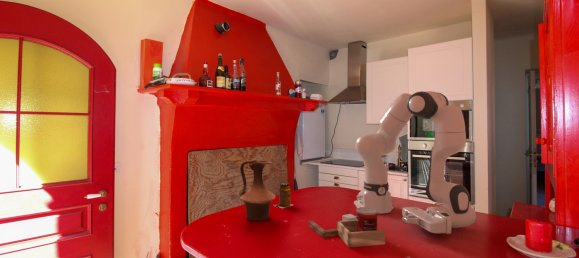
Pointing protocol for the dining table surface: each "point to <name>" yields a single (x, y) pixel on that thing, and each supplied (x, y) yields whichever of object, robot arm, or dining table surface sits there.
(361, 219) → the canned food
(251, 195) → the pitcher
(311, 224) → the crook tool
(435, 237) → the dining table surface
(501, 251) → the dining table surface
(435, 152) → the robot arm
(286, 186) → the condiment
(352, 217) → the block
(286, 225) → the dining table surface
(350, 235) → the cubby
